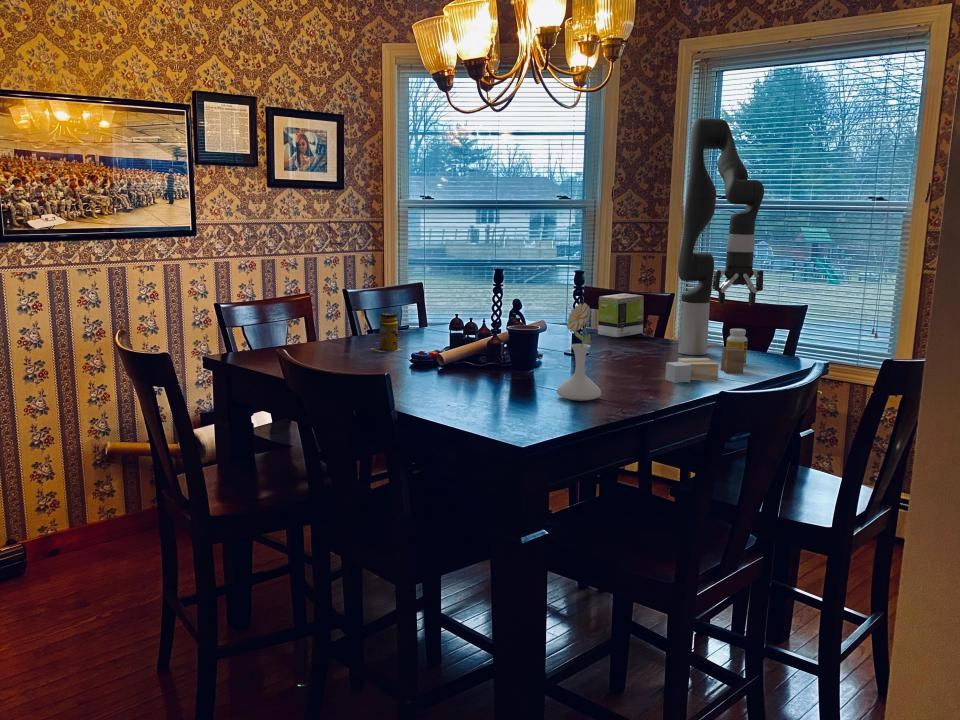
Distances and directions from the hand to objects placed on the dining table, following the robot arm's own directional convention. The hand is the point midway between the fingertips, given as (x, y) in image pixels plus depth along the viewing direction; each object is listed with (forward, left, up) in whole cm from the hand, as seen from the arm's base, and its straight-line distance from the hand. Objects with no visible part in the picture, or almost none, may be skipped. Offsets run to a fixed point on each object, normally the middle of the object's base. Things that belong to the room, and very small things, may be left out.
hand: (736, 305), depth 247 cm
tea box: (-69, -19, -20) cm, 74 cm away
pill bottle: (-11, +5, -20) cm, 23 cm away
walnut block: (0, 0, -20) cm, 20 cm away
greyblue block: (+13, -20, -20) cm, 31 cm away
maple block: (+8, -13, -20) cm, 25 cm away
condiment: (-34, -105, -20) cm, 112 cm away
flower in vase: (+36, -52, -20) cm, 66 cm away
